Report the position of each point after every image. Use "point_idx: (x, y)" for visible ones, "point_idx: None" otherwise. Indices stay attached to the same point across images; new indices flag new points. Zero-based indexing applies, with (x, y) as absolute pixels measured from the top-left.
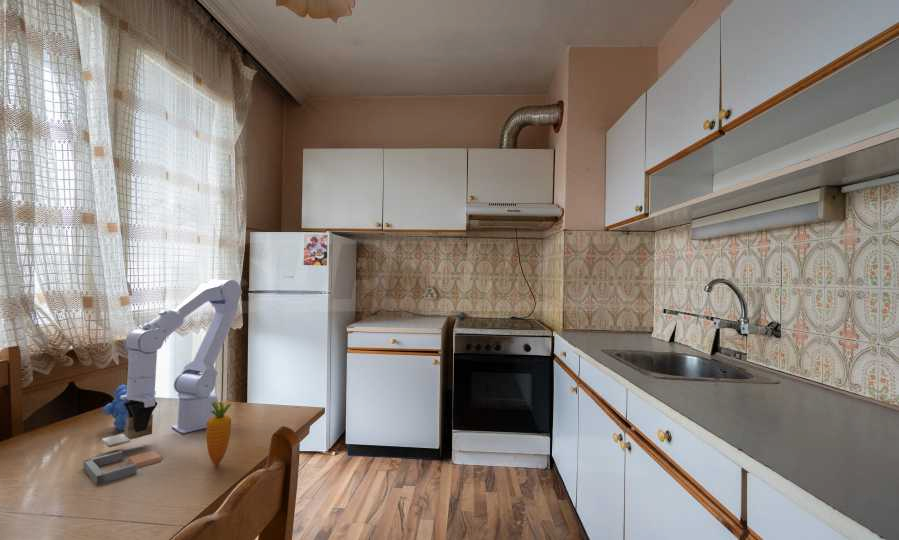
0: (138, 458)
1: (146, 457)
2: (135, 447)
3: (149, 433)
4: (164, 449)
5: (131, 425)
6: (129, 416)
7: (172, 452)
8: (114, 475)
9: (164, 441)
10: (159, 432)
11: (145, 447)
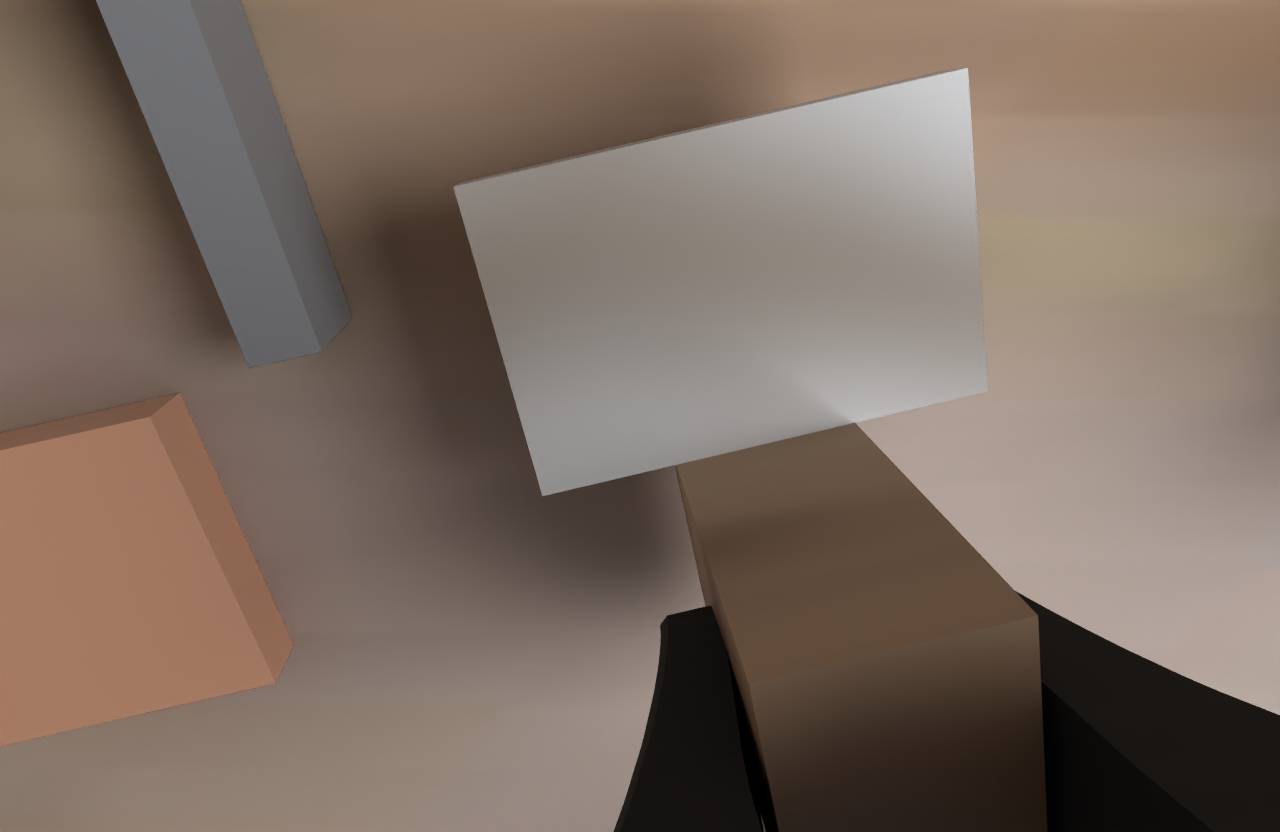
0: (23, 528)
1: (15, 610)
2: None
3: None
4: (412, 738)
5: (724, 634)
6: (1100, 689)
7: (253, 801)
8: None
9: None
10: None
11: (627, 571)
